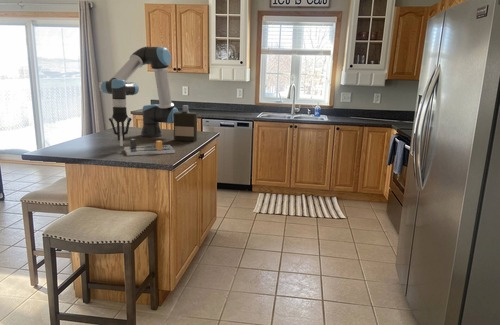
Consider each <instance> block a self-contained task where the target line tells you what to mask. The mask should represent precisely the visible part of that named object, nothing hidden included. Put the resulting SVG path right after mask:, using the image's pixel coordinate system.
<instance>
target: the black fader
mask: <svg viewBox="0 0 500 325" xmlns="http://www.w3.org/2000/svg"><path fill="white" fill-rule="evenodd" d="M129 144H130V145H129V147H131V148H136V146H137V139H136V138H130V139H129Z"/></svg>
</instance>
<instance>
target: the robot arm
mask: <svg viewBox="0 0 500 325" xmlns="http://www.w3.org/2000/svg"><path fill="white" fill-rule="evenodd" d="M171 61H172V54H171V52H170V51H169V49H168V48H167V47H164V46H163V47H162V46H143V47H141V48H139V49H137V50H136V51H134V52H133V53H132V54H131V55H130V56H129V59H128V60H127V61H126V62H125V63H124V65H122V67H121V68H120V69H118V71H117V72H115V74H114V75H113V76H112V77H111V78H110V79H109V80H104V81H101V84H100V89H101V92H102V93H104V94H108V95H111V97H112V98H111V99H112V116H111V117H109V118H108V120H109V122H110V125H111V127H112V130H113V133H114V135H117V141H119V147H124V141H125V137H126V136H125V135H128V133H129V128H130V123H131V121H132V119H133V118H132V117H129V116H128V113H127V96H134V95H135V96H136V95H137V94H138V93H139V90H140V89H139V85H138V84H137V83H135V82H133V81H132V82H128V80H129V79H130V77H132V75H134V73H135V72H136V71H138V69H139V68H142V67H143V66H145V65H150V66H151V69H152V70H153V71H154V77H155V84H156V85H155V86H156V89H157V90H156V91H157V96H158V104H157V103H155V104H154V103H153V104H145V105H143V106H142V111H141V112H142V127H141V132H140V136H142V137H145V138H160V137H162V134H163V133H162V130H161V127H160V123H162V124H174V113H175V112H179V110H178V108H177V107H175V104H174V102H172V95H171V88H170V82H169V74H168V69H169V67H170V66H169V65H171ZM114 121H115V122H116V127H115V124H114ZM126 121H127V122H126ZM125 122H126V126H125ZM120 125H121V127H120ZM120 128H121V130H120Z"/></svg>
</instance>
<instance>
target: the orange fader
mask: <svg viewBox="0 0 500 325" xmlns="http://www.w3.org/2000/svg"><path fill="white" fill-rule="evenodd" d="M162 145H163V141H162V140H155V146H156V149H157V150H162Z"/></svg>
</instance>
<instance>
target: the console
mask: <svg viewBox="0 0 500 325" xmlns="http://www.w3.org/2000/svg"><path fill="white" fill-rule="evenodd" d="M123 150H124V153H125V155H126V156H127V157H128V156H147V155H148V156H149V155H166V154H176V150H175V148H173V146H171V144H162V150H157V149H156V145H138V146H137V145H136V148H131V147H130V146H123Z"/></svg>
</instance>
